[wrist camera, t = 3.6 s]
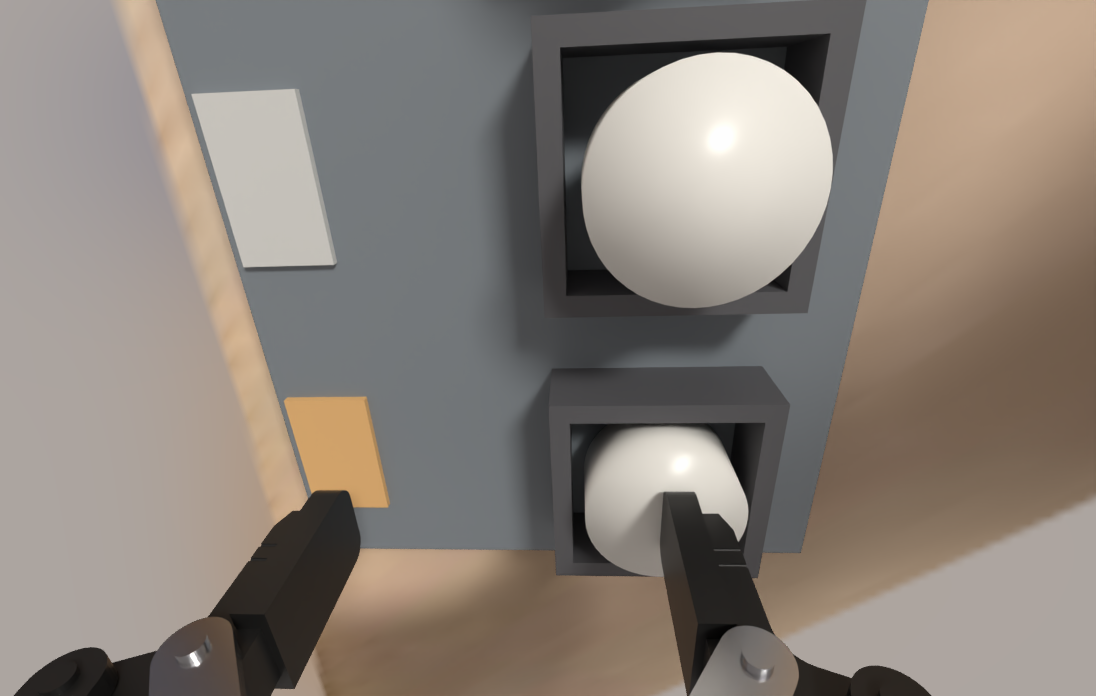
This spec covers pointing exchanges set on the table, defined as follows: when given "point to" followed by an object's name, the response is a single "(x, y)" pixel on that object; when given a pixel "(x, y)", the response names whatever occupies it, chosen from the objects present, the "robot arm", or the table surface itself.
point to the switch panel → (518, 250)
